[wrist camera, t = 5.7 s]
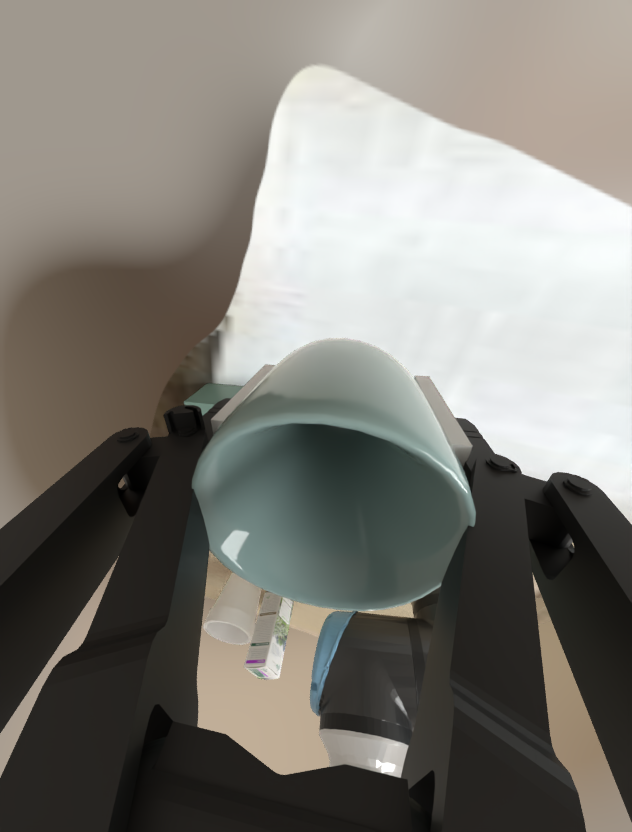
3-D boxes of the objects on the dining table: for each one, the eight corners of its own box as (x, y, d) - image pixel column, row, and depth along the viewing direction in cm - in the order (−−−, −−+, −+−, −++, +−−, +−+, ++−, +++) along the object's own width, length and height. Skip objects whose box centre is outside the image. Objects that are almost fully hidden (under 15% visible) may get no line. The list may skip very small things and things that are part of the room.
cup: (272, 426, 18) (190, 574, 9) (290, 306, 14) (175, 368, 5) (384, 455, 18) (406, 635, 9) (434, 342, 14) (558, 468, 5)
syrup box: (264, 591, 66) (241, 668, 53) (283, 589, 64) (265, 668, 51) (275, 603, 68) (256, 679, 55) (295, 601, 66) (279, 680, 53)
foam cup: (266, 581, 63) (245, 649, 52) (229, 568, 63) (201, 634, 52) (275, 561, 58) (255, 631, 47) (236, 547, 58) (206, 614, 47)
